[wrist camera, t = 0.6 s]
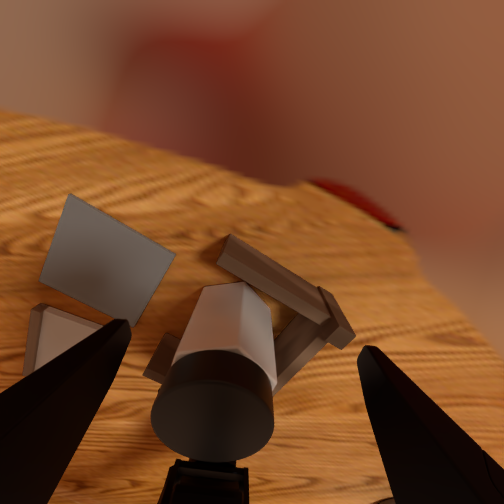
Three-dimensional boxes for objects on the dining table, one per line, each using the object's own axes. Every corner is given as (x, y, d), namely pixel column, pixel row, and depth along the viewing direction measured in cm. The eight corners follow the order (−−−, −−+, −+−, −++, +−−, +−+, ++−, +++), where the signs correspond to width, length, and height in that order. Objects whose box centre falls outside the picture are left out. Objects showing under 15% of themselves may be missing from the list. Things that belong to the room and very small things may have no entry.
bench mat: (134, 325, 27) (133, 327, 26) (41, 279, 25) (38, 281, 24) (176, 254, 23) (175, 255, 23) (71, 193, 21) (68, 194, 21)
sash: (92, 387, 31) (86, 395, 30) (31, 367, 30) (22, 375, 28) (110, 328, 27) (103, 335, 26) (40, 303, 26) (31, 309, 25)
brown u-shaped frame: (248, 384, 30) (246, 439, 24) (160, 340, 28) (134, 389, 22) (332, 294, 25) (356, 336, 19) (232, 231, 22) (222, 256, 16)
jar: (177, 305, 26) (117, 415, 14) (232, 264, 24) (210, 356, 12) (229, 353, 28) (212, 479, 17) (283, 320, 26) (303, 438, 15)
